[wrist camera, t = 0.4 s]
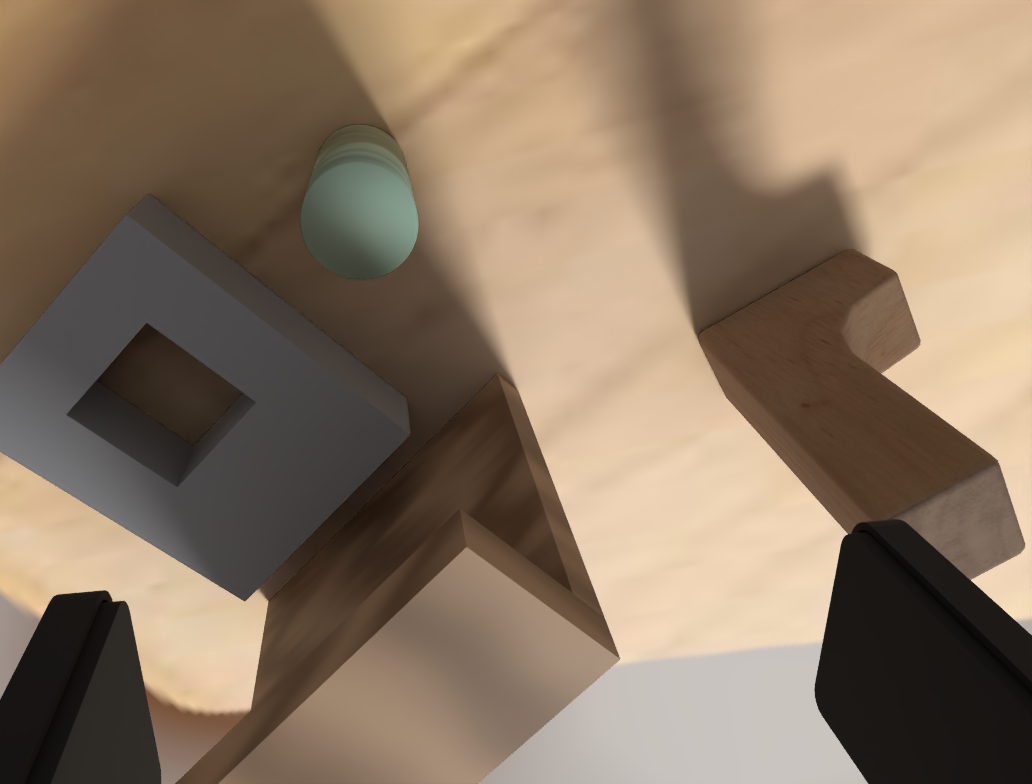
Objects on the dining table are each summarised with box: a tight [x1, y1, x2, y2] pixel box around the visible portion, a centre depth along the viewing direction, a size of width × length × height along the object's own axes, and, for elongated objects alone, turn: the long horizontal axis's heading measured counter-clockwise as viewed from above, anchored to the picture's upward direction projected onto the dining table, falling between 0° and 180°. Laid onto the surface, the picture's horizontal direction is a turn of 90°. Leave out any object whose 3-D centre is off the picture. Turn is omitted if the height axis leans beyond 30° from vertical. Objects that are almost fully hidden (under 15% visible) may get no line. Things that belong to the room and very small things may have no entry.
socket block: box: [0, 194, 411, 601], centre depth 40 cm, size 12×15×4 cm
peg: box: [300, 124, 418, 280], centre depth 34 cm, size 4×4×10 cm
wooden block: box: [699, 249, 1025, 580], centre depth 37 cm, size 9×4×18 cm, turn 119°
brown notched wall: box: [175, 373, 620, 784], centre depth 36 cm, size 18×6×20 cm, turn 135°
